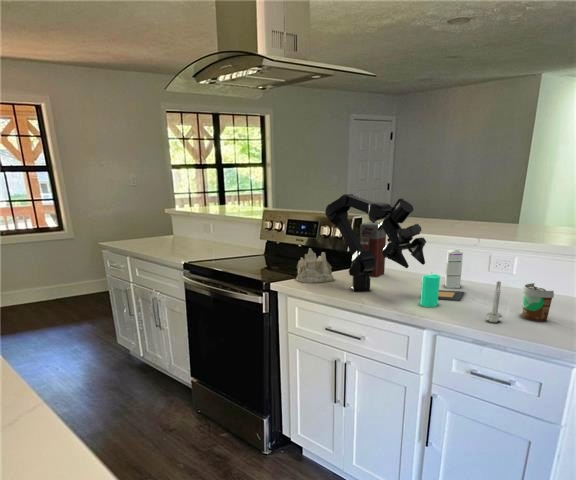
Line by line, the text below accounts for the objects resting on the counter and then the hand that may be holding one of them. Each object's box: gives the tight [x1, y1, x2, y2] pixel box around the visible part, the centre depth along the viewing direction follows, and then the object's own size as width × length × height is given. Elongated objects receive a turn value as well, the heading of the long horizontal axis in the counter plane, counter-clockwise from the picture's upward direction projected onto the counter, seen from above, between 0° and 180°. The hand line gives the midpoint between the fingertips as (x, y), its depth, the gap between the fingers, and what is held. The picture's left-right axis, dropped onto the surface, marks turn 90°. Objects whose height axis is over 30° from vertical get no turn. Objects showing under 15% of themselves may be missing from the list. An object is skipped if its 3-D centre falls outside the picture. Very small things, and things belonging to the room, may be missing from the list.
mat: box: [438, 289, 465, 302], centre depth 195 cm, size 14×14×1 cm
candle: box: [420, 271, 441, 308], centre depth 180 cm, size 6×6×12 cm
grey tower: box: [444, 249, 464, 289], centre depth 206 cm, size 6×6×14 cm
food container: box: [521, 282, 555, 322], centre depth 162 cm, size 12×6×10 cm, turn 5°
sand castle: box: [296, 247, 335, 284], centre depth 228 cm, size 16×16×15 cm
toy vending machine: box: [359, 216, 387, 278], centre depth 230 cm, size 9×11×28 cm
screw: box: [485, 280, 503, 323], centre depth 159 cm, size 13×5×5 cm
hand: (416, 265), depth 183 cm, fingers open, 9 cm apart
